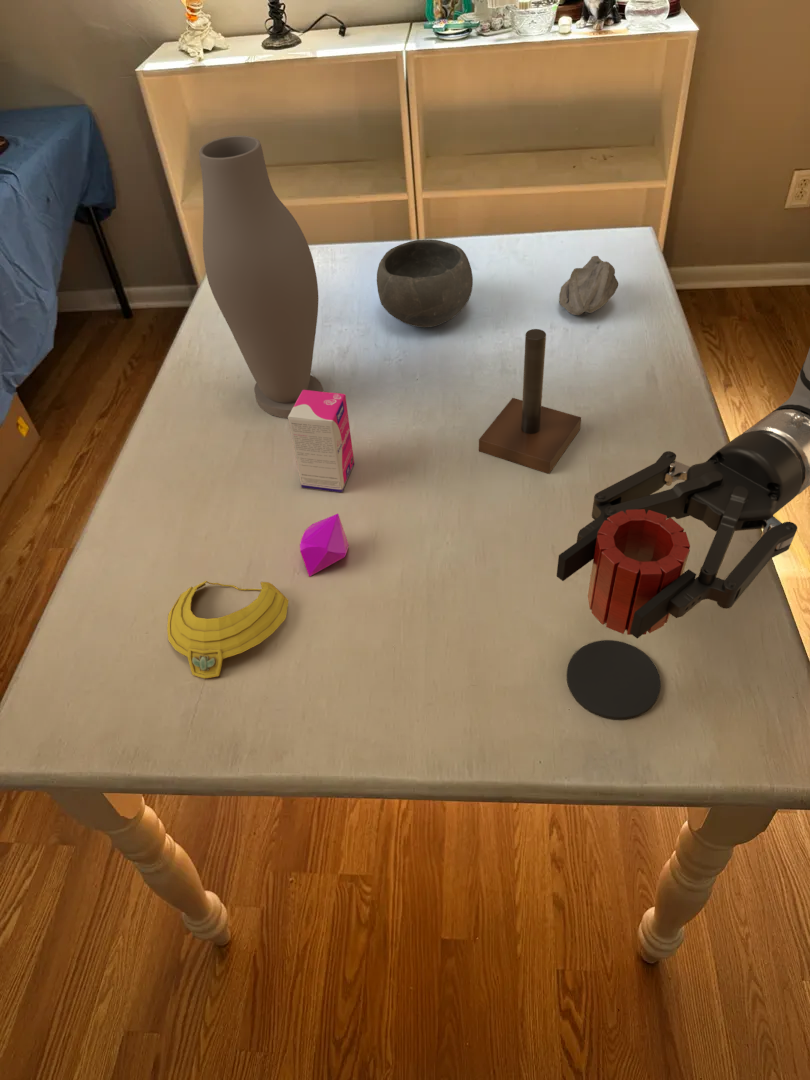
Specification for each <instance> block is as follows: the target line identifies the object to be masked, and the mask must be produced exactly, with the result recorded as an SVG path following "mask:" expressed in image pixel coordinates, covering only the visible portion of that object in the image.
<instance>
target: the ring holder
mask: <svg viewBox="0 0 810 1080" xmlns="http://www.w3.org/2000/svg"><path fill="white" fill-rule="evenodd" d="M524 336H525V339H524V360H523V380H522V381H523V382H522V383H523V384H522V399H519V398H517V397H516V398H515V397H512V398H511V399H510V400H509V402H508V403H507V404H506V405H505V407H504V408H503V409H502V410H501V411H500V412H499V414H498V415H497V416H496V417H495V418H494V420H493V421H492V423H490V425H489V426H488V427H487V429H486V430H485V431H484V432H483V434H482V435H481V436H480V437H479V438H478V451H479V452H481V453H483V454H487V455H490V456H493V457H496V458H499V459H502V460H505V461H508V462H512V463H513V464H518V465H520V466H524V467H527V468H530V469H533V470H536V471H540V472H542V473H545V474H548V475H549V474H551V472H552V471H553V470H554V468H555V466H556V465H557V463H558V462H559V460H560V459H561V457H562V456H563V454H564V453H565V452H566V450H567V449H568V447H569V446H570V445H571V443H572V442H573V440H574V439H575V437H576V436H577V434H579V432H580V430H581V425H582V417H581V416H578V415H575V414H572V413H567V412H564V411H561V410H557V409H553V408H551V407H547V406H544V405H542V402H543V385H544V373H545V372H544V371H545V357H546V343H547V333H546V331H545V330H543V329H541V328H533V329H532V328H531V329H529V330H527V331H526V332H525V335H524Z"/></svg>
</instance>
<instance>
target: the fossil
mask: <svg viewBox="0 0 810 1080" xmlns="http://www.w3.org/2000/svg"><path fill="white" fill-rule="evenodd" d="M618 287H619V281H618V279H617V278H616V269H615V267H614V266H613V265H612V264H611V263H610V262H609V261H606V260H605V261H603V260H602V259H601V258H600V257H599V255H593V256H591V258H590V259H589V260H588V261H587V263H585V264H584V265H583V267H575V268H574V269H573V270H572V271H571V275H570V277H569V279H567V280H566V281H565V282H564V283H563V285H562V286H561V287H560V290H559V291H560V292H559V296H558V297H559V298H558V299H559V302H558V303H559V304H560V306H561V307H562V308H564V309H565V310H566V311H567V312H568V313H569V314H571V315H574V316H580V315H582V314H584V312H586V313H589V314H592V313H593V312H595V311H597V310H600V309H601V308H602V307H603V306H605V305H606V304H607V303H608V302H609V300H610V299H611V298H612V297H613V296H614V294H615V293H616V291H617V289H618Z"/></svg>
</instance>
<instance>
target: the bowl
mask: <svg viewBox="0 0 810 1080" xmlns="http://www.w3.org/2000/svg"><path fill="white" fill-rule="evenodd" d="M473 285H474V277H473V270H472V266H471V262H470V261H469V259H468V256H467V254H466V253H465V251H464V250H463V249H462V248H461V247H460V246H458V245H455V244H454V243H450V242H446V241H444V240H439V239H415V240H410V241H407V242H404V243H401V244H398V245H396V246H394V247H392V248H390V249H388V251H386V252H385V254H384V255H383V256H382V258H381V259H380V261H379V264H378V267H377V270H376V287H377V294H378V299H379V301H380V304H381V306H382V307H383V309H384V310H385V311H386V312H387V313H388V314H389V315H390V316H392V317H393V318H395V319H396V320H398V321H400V322H401V323H404V324H406V325H409V326H412V327H416V328H417V327H418V328H432V327H436V326H437V327H438V326H440V325H441V324H445V323H446V322H448V321H450V320H452V319H453V318H455V317H456V316H457V315H458V314H460V313H461V312H462V310H463V309H464V308H465V307H466V305H467V303H468V301H469V299H470V297H471V294H472V291H473Z"/></svg>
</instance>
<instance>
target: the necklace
mask: <svg viewBox="0 0 810 1080" xmlns="http://www.w3.org/2000/svg"><path fill="white" fill-rule="evenodd" d="M207 584H210V585H213V586H214V585H215V586H216V585H218V586H220V587H229V588H230V587H231V588H235V589H236V590H238V591H260V592H259V594H258V596H257V597H256V599H254V600H253V601H252V602H250V604H248V605H247V606H245V607H243V608H241V609H238V610H235V611H234V612H231V613H228V614H226V615H224V616H219V617H214V618H213V617H212V618H203V617H197V616H196V615H195V614H194V612H193V611H192V602H193V597H194V596H195V594H196V591H197V590H200V589H201V588H203V587H204V586H207ZM260 586H261V588H240V587H237V586H235V585H233V584H222V583H220V582H210V581H208V580H204V581H202V582H200V583H199V584H196V585H195V586H190V587H189V588H187V589H186V590H185V591H183V592H182V593H180V594H179V596H178V598H177V600H176V601H175V602H174V604H173V606H172V607H171V609H170V611H169V613H168V614H167V626H166V630H167V640H168V642H169V643H170V645H171V646H172V647H173V649H174V650H175V651H176V652H177V653H179V654H180V655H183V656H185V657H186V658H187V661H188V664H189V669H190V671H191V675H192V676H195V677H198V678H201V679H211V678H215V677H220V674H221V670H222V666H223V660H224V659H227V658H230V657H233V656H236V655H239V654H242V653H244V652H246V651H248V650H250V649H252V648H254V647H256V646H258V645H260V644H261V643H262V642H264V641H265V640H266V639H267V638H269V637H271V635H273V634H274V633H275V631H276V630H278V628H279V627H280V626H281V625H282V624H283V622H285V620H286V618H287V613H288V608H289V601H290V600H289V599H288V598H287V597H286V596H285V595H284V594H283V593H282V592H281V591H280V590H279V589H278V588H277V587H276V586H275V585H274V584H273V583H271V582H267V581H261V582H260Z"/></svg>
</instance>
